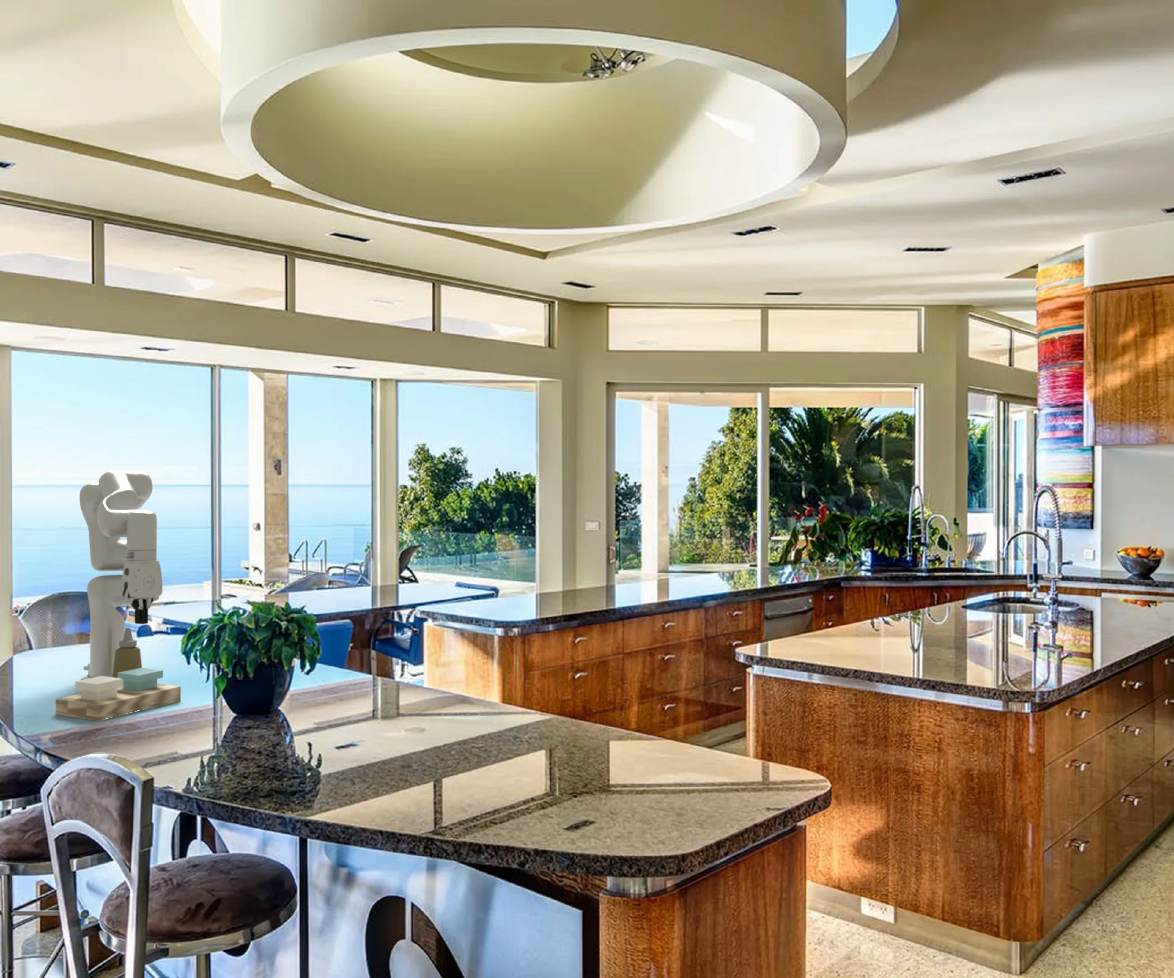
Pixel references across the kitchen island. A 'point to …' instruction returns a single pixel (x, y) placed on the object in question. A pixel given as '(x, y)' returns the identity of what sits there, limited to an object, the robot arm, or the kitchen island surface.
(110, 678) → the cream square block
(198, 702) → the kitchen island surface
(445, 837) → the kitchen island surface
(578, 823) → the kitchen island surface
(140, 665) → the squeeze bottle
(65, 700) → the light wood flat block
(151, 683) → the teal key
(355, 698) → the kitchen island surface
